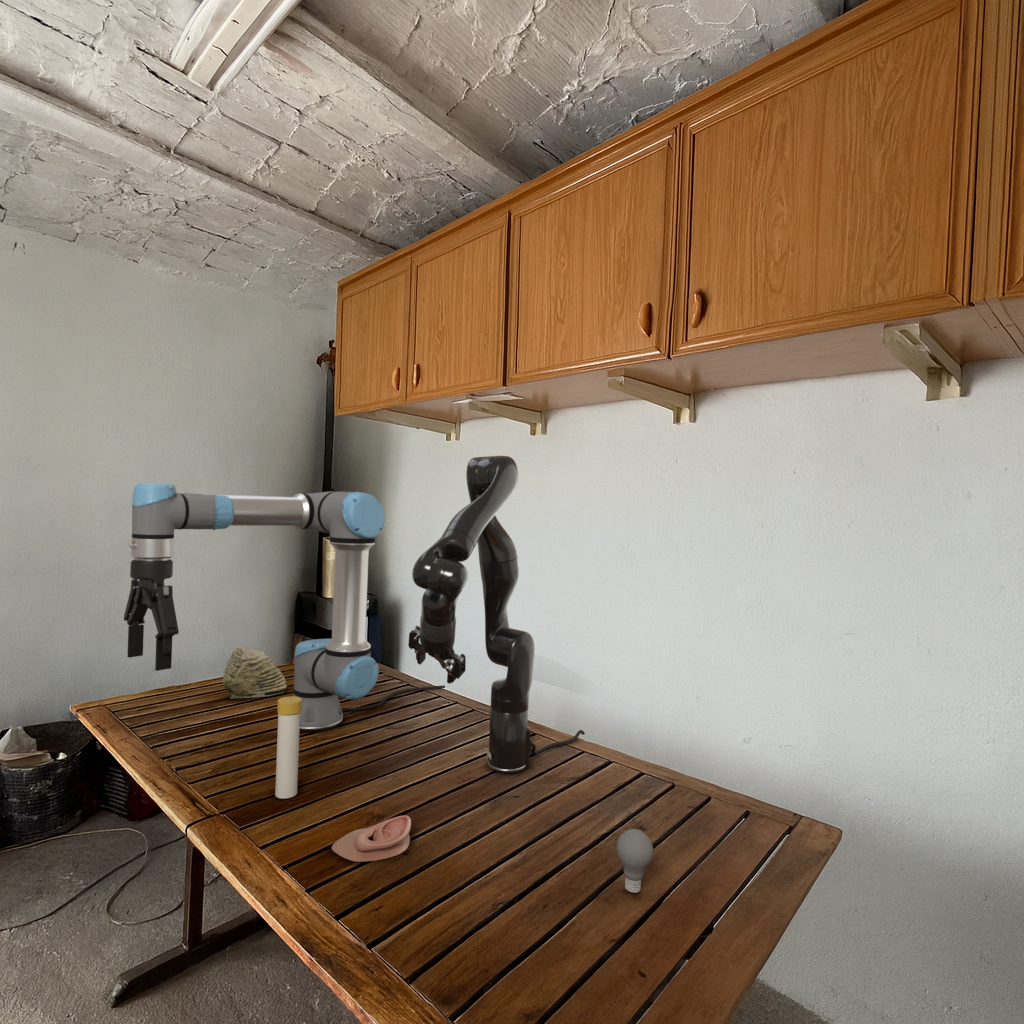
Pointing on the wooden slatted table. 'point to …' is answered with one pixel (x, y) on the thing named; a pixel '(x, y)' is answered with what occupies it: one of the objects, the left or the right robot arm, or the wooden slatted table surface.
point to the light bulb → (634, 857)
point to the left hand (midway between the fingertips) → (148, 662)
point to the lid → (289, 705)
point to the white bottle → (287, 755)
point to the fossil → (252, 674)
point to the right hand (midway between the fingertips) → (435, 670)
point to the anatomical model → (375, 841)
